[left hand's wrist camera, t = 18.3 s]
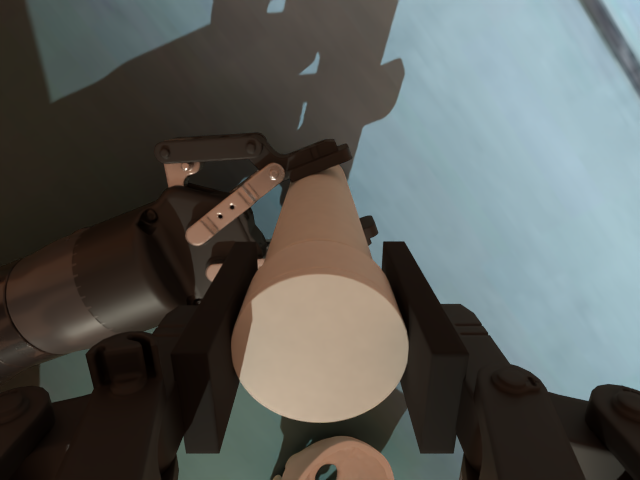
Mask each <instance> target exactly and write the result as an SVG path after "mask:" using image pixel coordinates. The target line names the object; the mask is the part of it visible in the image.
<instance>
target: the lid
mask: <svg viewBox="0 0 640 480" xmlns="http://www.w3.org/2000/svg"><path fill="white" fill-rule="evenodd" d="M408 350H409V338H408V333H407V329H406V326H405V323H404V321H403V318H402V315H401V313H400V310H399V307H398V305H397V302H396V299H395V297H394V294H393V291H392V288H391V286H390V283H389V281H388V279H387V277H386V275H385V274H384V272H383V271H382V270H381V268H380V267H379V266H378V265H377V264H376V263H375V262H374V261H373V260H372V259H371V258H370V257H368V256H367V255H366V254H364V253H362V252H361V251H359V250H357V249H355V248H353V247H350V246H348V245H345V244H341V243H338V242H331V241H309V242H303V243H299V244H295V245H292V246H289V247H287V248H285V249H283V250H281V251H279V252H277V253H276V254H274V255H273V256H272V257H270V258H269V259H268V260H267V261H266V262H265V263H263V265H262V266H261V267H260V268H259V269H258V271H257V272H256V274H255V275H254V277H253V279H252V281H251V283H250V285H249V288H248V290H247V293H246V296H245V299H244V301H243V304H242V307H241V309H240V312H239V315H238V317H237V320H236V323H235V325H234V329H233V332H232V336H231V352H232V362H233V366H234V369H235V371H236V374H237V376H238V378H239V380H240V382H241V383H242V385H243V386H244V387H245V389H246V390H247V391H248V393H249V394H250V395H251V396H252V397H253V398H254V399H255V400H257V401H258V402H259V403H261V404H262V405H263V406H265V407H266V408H268V409H270V410H271V411H273V412H275V413H278V414H280V415H282V416H285V417H288V418H291V419H295V420H299V421H305V422H317V423H325V422H335V421H341V420H345V419H349V418H352V417H355V416H358V415H360V414H362V413H365V412H367V411H368V410H370V409H372V408H374V407H375V406H376V405H378V404H379V403H381V402H382V401H383V400H384V399H385V398H386V397H387V396H389V395H390V393H391V392H392V391H393V390H394V389H395V387H396V386H397V384H398V383H399V381H400V380H401V378H402V376H403V373H404V371H405V368H406V365H407V360H408Z"/></svg>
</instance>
